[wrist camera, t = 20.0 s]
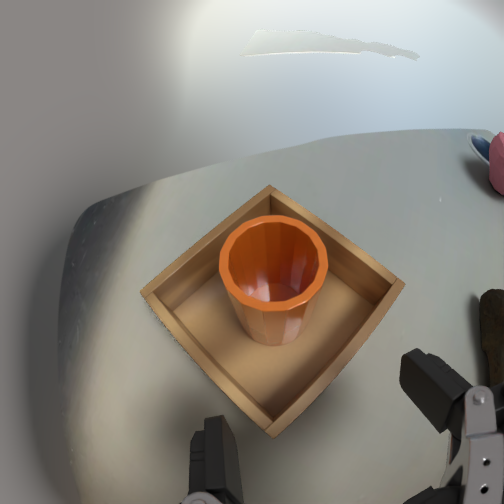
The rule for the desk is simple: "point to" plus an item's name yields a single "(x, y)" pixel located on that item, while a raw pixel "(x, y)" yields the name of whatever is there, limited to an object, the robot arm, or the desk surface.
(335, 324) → the wooden tray
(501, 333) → the dark brown long bar
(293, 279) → the orange cup
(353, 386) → the desk surface
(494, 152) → the apple
